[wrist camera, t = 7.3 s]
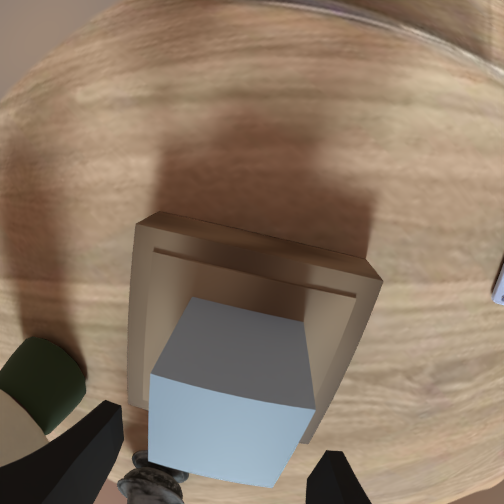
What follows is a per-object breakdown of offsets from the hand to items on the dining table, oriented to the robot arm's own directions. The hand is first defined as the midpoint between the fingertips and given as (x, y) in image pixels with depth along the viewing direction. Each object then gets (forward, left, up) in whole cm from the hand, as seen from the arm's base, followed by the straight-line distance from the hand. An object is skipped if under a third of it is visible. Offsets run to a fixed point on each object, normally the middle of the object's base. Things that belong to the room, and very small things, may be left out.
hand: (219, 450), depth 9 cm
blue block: (0, 0, -6) cm, 6 cm away
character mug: (+13, +8, -9) cm, 18 cm away
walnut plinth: (0, 0, -9) cm, 9 cm away
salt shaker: (+4, +17, -9) cm, 20 cm away
